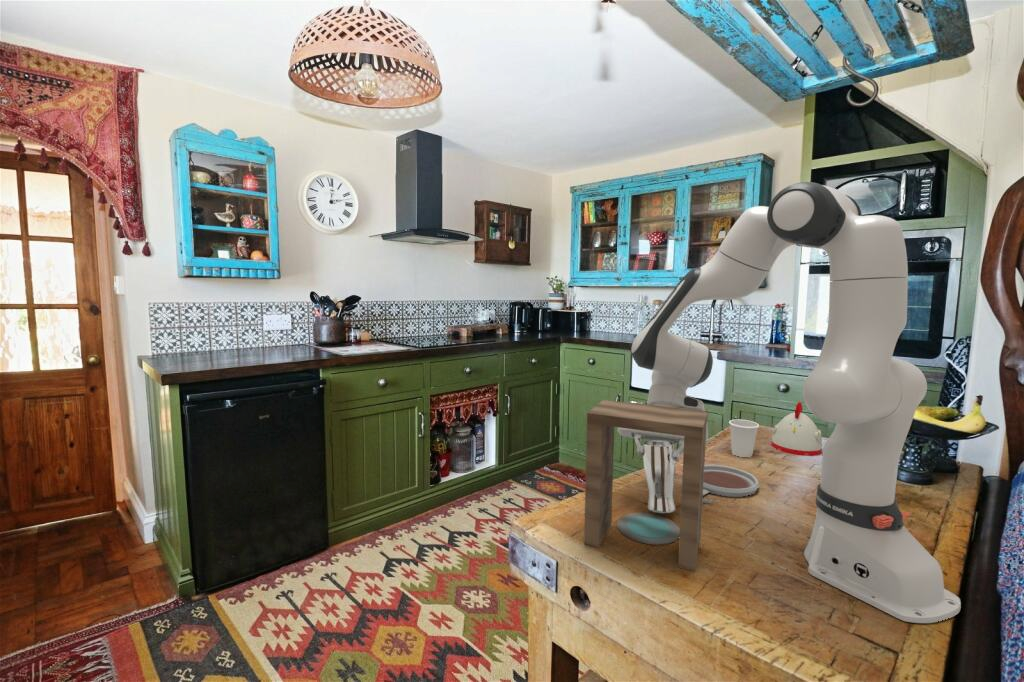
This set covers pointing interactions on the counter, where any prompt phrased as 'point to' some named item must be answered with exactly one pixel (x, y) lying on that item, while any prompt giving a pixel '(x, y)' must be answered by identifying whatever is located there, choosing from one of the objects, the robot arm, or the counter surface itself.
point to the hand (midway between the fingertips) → (657, 457)
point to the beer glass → (660, 474)
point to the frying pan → (727, 482)
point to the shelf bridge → (601, 476)
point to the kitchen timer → (797, 435)
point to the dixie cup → (743, 437)
